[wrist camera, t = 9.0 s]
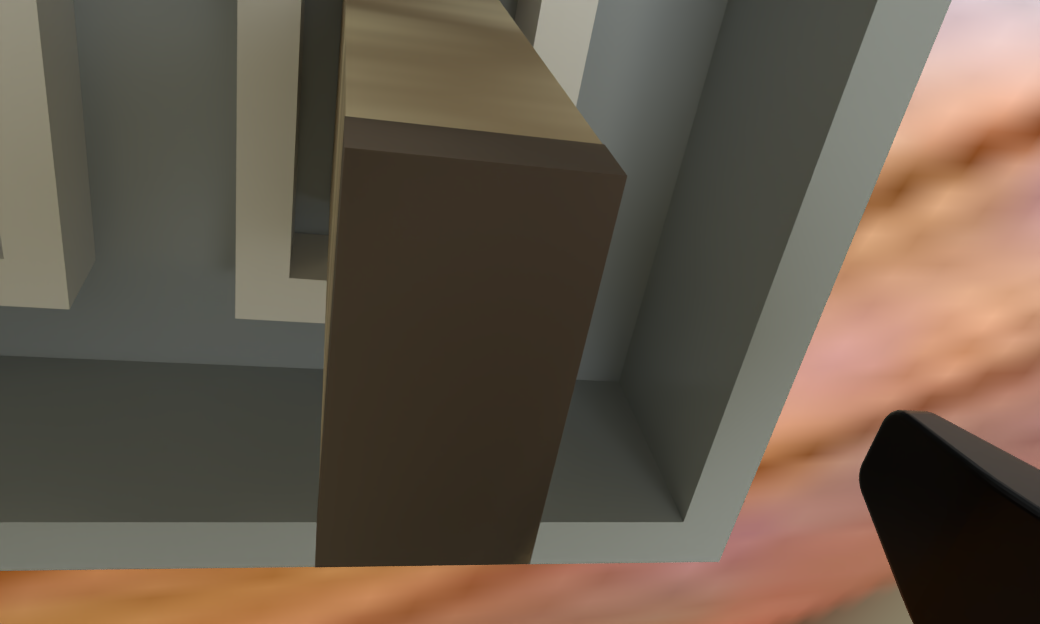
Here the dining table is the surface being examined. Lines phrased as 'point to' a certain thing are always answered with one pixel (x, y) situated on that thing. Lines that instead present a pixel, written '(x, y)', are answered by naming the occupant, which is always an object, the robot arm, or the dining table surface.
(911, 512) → the robot arm
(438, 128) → the tall wooden brick
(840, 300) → the dining table surface
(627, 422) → the grey storage tray
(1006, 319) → the dining table surface
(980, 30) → the dining table surface
